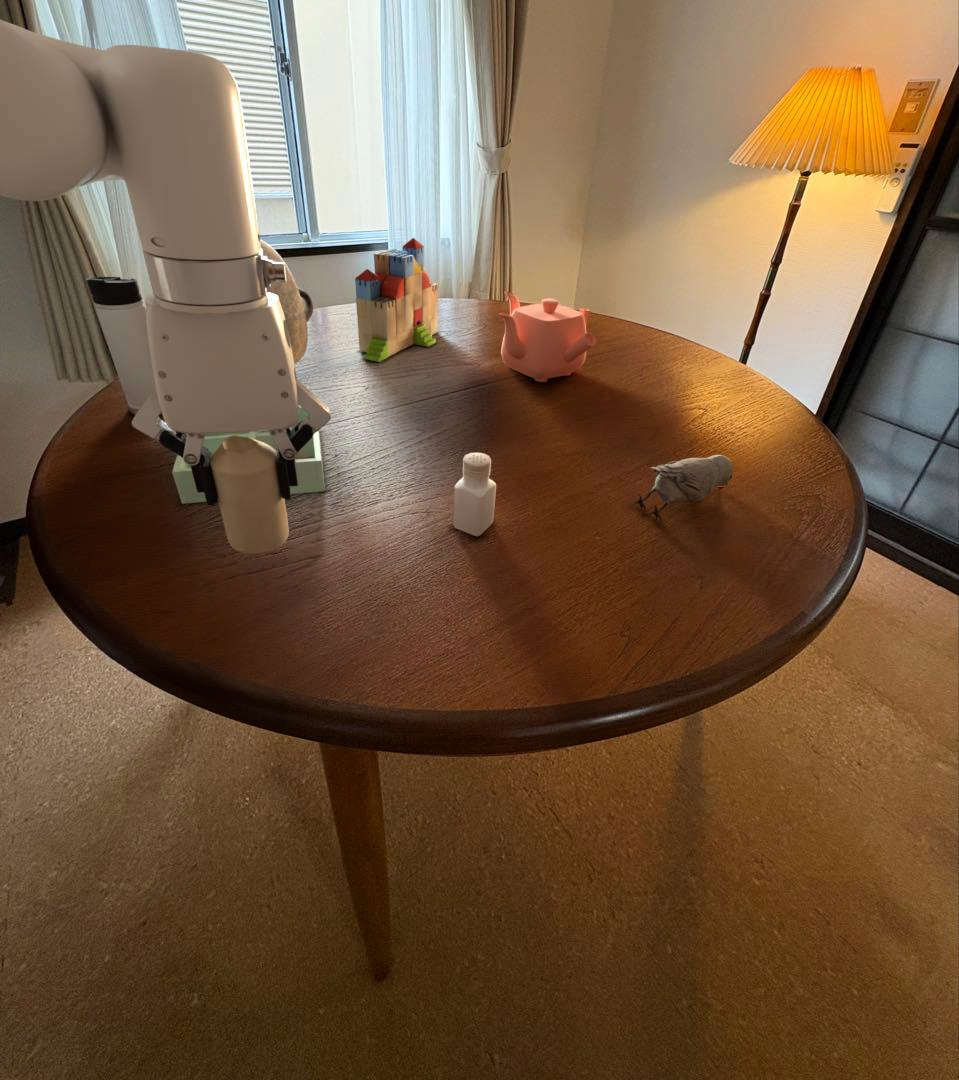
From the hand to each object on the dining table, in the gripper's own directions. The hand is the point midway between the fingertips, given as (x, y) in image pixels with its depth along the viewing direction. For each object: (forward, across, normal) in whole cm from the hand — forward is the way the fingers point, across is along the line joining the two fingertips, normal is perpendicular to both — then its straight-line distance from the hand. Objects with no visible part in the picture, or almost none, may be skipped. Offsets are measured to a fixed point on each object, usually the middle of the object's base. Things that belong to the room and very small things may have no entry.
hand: (250, 492), depth 50 cm
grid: (+12, +2, -28) cm, 31 cm away
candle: (+5, 0, 0) cm, 5 cm away
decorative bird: (+11, -54, -8) cm, 56 cm away
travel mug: (+13, +19, -49) cm, 54 cm away
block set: (+12, -26, -79) cm, 84 cm away
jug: (+13, +4, -60) cm, 62 cm away
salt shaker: (+12, -24, -8) cm, 28 cm away
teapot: (+11, -51, -58) cm, 78 cm away
